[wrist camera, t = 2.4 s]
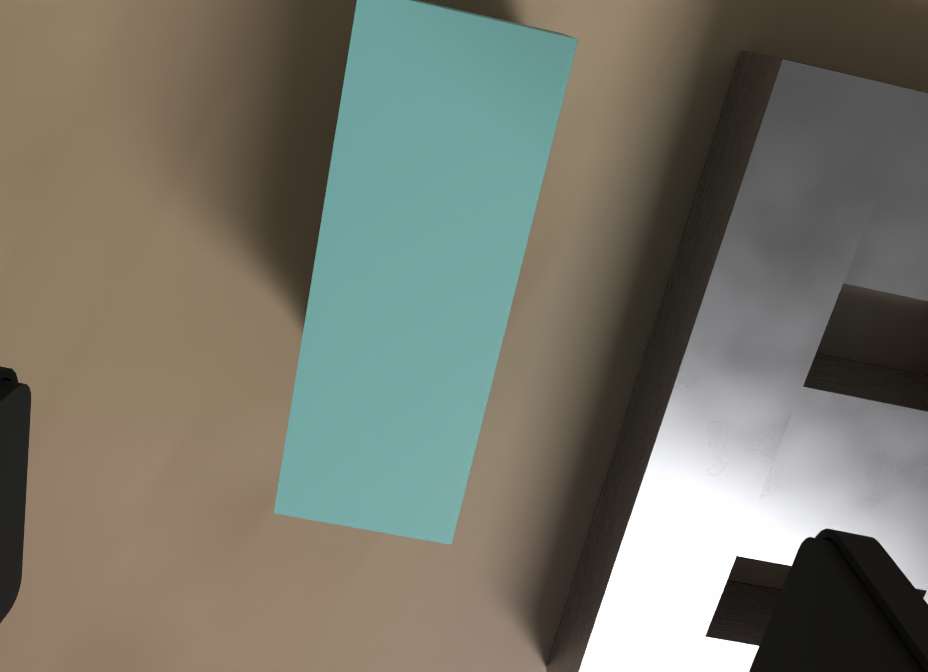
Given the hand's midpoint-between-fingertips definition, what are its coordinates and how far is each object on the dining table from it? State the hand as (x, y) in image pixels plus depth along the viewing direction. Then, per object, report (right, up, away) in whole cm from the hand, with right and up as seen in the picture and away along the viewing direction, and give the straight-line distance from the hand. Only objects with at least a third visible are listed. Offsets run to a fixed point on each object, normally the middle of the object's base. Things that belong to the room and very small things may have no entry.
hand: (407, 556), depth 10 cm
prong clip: (-1, +6, +13) cm, 14 cm away
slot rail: (+11, 0, +16) cm, 19 cm away
